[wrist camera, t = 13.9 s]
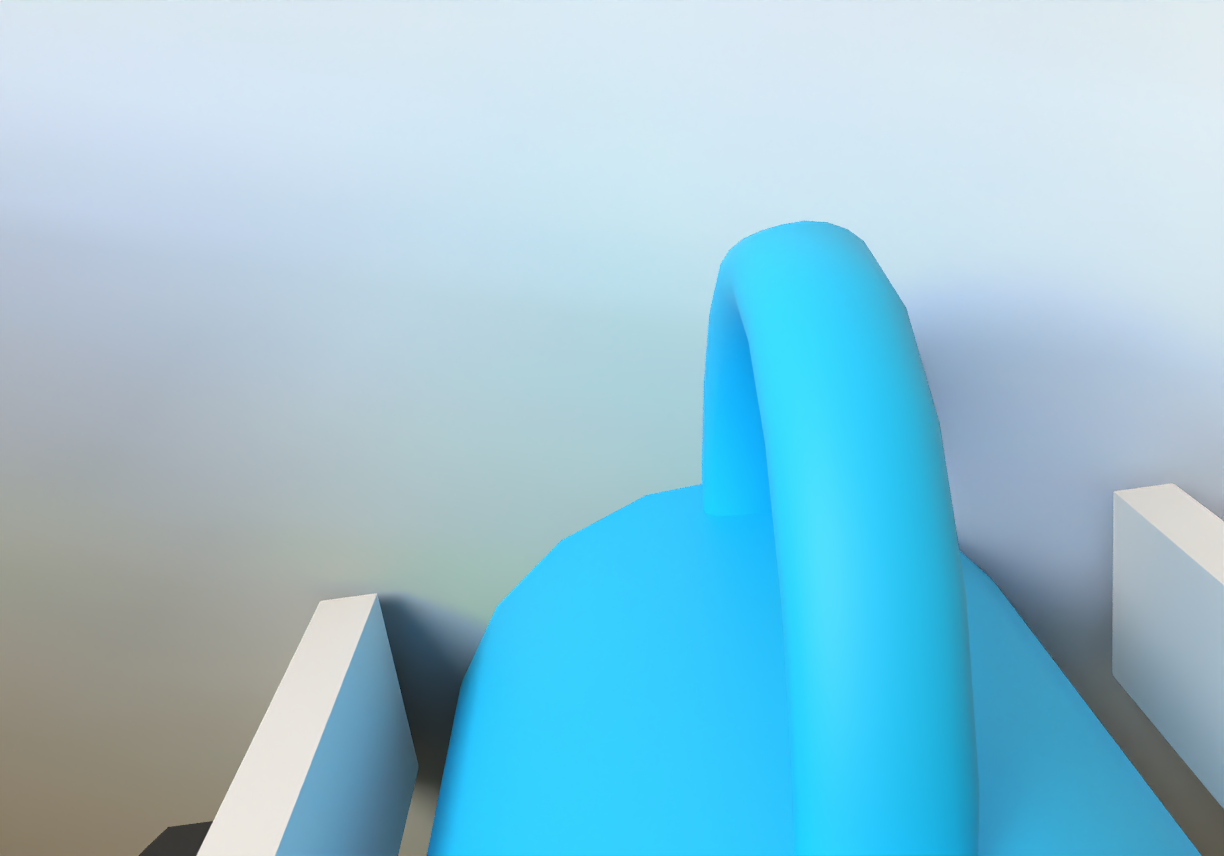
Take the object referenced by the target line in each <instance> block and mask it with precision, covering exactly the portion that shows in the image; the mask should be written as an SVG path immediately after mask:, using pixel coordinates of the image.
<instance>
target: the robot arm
mask: <svg viewBox="0 0 1224 856" xmlns="http://www.w3.org/2000/svg"><path fill="white" fill-rule="evenodd" d="M1112 675H1113V676H1114V677H1115V679H1116V680H1117V681H1118V682H1119V683H1120V685H1121V686H1122V687H1123V688H1124V689H1125V691H1126V692H1127V693H1128V694H1129V695H1130V697H1131V698H1132V699H1133V700H1134V701H1135V703H1136V704H1137V705H1138V706H1139V707H1140V709H1141V710H1142V711H1143V712H1144V714H1145V715H1146V716H1147V717H1148V718H1149V720H1150V721H1151V722H1152V723H1153V724H1154V726H1155V727H1156V728H1157V729H1158V730H1159V732H1160V733H1161V734H1162V735H1163V736H1164V738H1165V739H1166V740H1167V741H1168V742H1169V744H1170V745H1171V746H1172V747H1173V749H1174V750H1175V751H1176V752H1177V753H1178V755H1179V756H1180V757H1181V758H1182V759H1183V761H1184V762H1185V763H1186V764H1187V765H1188V767H1189V768H1190V769H1191V770H1192V771H1193V773H1194V774H1195V775H1196V776H1197V777H1198V779H1199V780H1200V781H1201V782H1202V784H1203V785H1204V786H1205V787H1206V788H1207V790H1208V791H1209V792H1210V793H1211V794H1212V796H1213V797H1214V798H1215V799H1216V800H1217V802H1218V803H1219V804H1220V805H1221V806H1222V808H1223V809H1224V521H1223V520H1221V519H1220V518H1219V517H1217V516H1216V515H1215V514H1213V513H1212V512H1211V511H1209V510H1208V509H1207V508H1205V507H1204V506H1203V505H1201V504H1200V503H1199V502H1197V501H1196V500H1195V499H1193V498H1192V497H1191V496H1189V495H1188V494H1187V493H1185V492H1184V491H1183V490H1181V489H1180V488H1179V487H1177V486H1176V485H1175V484H1173V483H1170V484H1163V485H1156V486H1148V487H1141V488H1134V489H1127V490H1119V491H1114V496H1113V634H1112ZM418 768H419V766H418V761H417V757H416V753H415V749H414V745H413V741H412V736H411V732H410V728H409V724H408V720H407V716H406V711H405V707H404V703H403V699H402V695H401V690H400V686H399V682H398V678H397V674H396V670H395V665H394V661H393V657H392V653H391V649H390V645H389V640H388V636H387V632H386V628H385V624H384V620H383V615H382V611H381V607H380V603H379V599H378V594H377V593H375V594H367V595H360V596H353V597H346V598H338V599H331V600H324V601H320V603H319V605H318V607H317V609H316V611H315V613H314V615H313V617H312V619H311V621H310V623H309V625H308V627H307V629H306V631H305V633H304V636H303V638H302V640H301V642H300V644H299V646H298V648H297V650H296V652H295V654H294V656H293V658H292V660H291V662H290V664H289V666H288V668H287V671H286V673H285V675H284V677H283V679H282V681H281V683H280V685H279V687H278V689H277V691H276V693H275V695H274V697H273V699H272V701H271V703H270V705H269V708H268V710H267V712H266V714H265V716H264V718H263V720H262V722H261V724H260V726H259V728H258V730H257V732H256V734H255V736H254V738H253V740H252V743H251V745H250V747H249V749H248V751H247V753H246V755H245V757H244V759H243V761H242V763H241V765H240V767H239V769H238V771H237V773H236V775H235V778H234V780H233V782H232V784H231V786H230V788H229V790H228V792H227V794H226V796H225V798H224V800H223V802H222V804H221V806H220V808H219V810H218V812H217V815H216V817H215V819H214V821H211V822H204V823H196V824H189V825H181V826H173V827H168V828H167V829H166V830H165V831H164V832H163V833H161V834H160V835H159V836H158V837H157V838H156V839H155V840H154V841H153V842H152V843H151V844H150V845H149V846H148V847H147V848H146V849H145V850H144V851H143V852H142V853H141V854H140V855H139V856H398V853H399V848H400V844H401V840H402V836H403V832H404V827H405V823H406V819H407V815H408V811H409V806H410V802H411V798H412V794H413V789H414V785H415V781H416V777H417V773H418Z"/></svg>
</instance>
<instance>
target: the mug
mask: <svg viewBox="0 0 1224 856" xmlns="http://www.w3.org/2000/svg"><path fill="white" fill-rule="evenodd" d="M427 856H1201V854H1200V853H1199V852H1198V850H1197V849H1196V848H1195V846H1194V845H1193V844H1192V843H1191V841H1190V840H1189V839H1188V837H1187V836H1186V835H1185V833H1184V832H1183V831H1182V829H1181V828H1180V827H1179V825H1178V824H1177V823H1176V821H1175V820H1174V819H1173V817H1172V816H1171V815H1170V813H1169V812H1168V811H1167V810H1166V808H1165V807H1164V806H1163V804H1162V803H1161V802H1160V800H1159V799H1158V798H1157V796H1156V795H1155V794H1154V792H1153V791H1152V790H1151V788H1150V787H1149V786H1148V784H1147V783H1146V782H1145V781H1144V779H1143V778H1142V777H1141V775H1140V774H1139V773H1138V771H1137V770H1136V769H1135V767H1134V766H1133V765H1132V763H1131V762H1130V761H1129V759H1128V758H1127V757H1126V755H1125V754H1124V753H1123V751H1122V750H1121V749H1120V748H1119V746H1118V745H1117V744H1116V742H1115V741H1114V740H1113V738H1112V737H1111V736H1110V734H1109V733H1108V732H1107V730H1106V729H1105V728H1104V726H1103V725H1102V724H1101V722H1100V721H1099V720H1098V718H1097V717H1096V716H1095V715H1094V713H1093V712H1092V711H1091V709H1090V708H1089V707H1088V705H1087V704H1086V703H1085V701H1084V700H1083V699H1082V697H1081V696H1080V695H1079V693H1078V692H1077V691H1076V689H1075V688H1074V687H1073V686H1072V684H1071V683H1070V682H1069V680H1068V679H1067V678H1066V676H1065V675H1064V674H1063V672H1062V671H1061V670H1060V668H1059V667H1058V666H1057V664H1056V663H1055V662H1054V660H1053V659H1052V658H1051V656H1050V655H1049V654H1048V653H1047V651H1046V650H1045V649H1044V647H1043V646H1042V645H1041V643H1040V642H1039V641H1038V639H1037V638H1036V637H1035V635H1034V634H1033V633H1032V631H1031V630H1030V629H1029V627H1028V626H1027V625H1026V623H1025V622H1024V621H1023V620H1022V618H1021V617H1020V616H1019V614H1018V613H1017V612H1016V610H1015V609H1014V608H1013V606H1012V605H1011V604H1010V602H1009V601H1008V600H1007V598H1006V597H1005V596H1004V594H1003V593H1002V592H1001V591H1000V589H999V588H998V587H997V585H996V584H995V583H994V581H993V580H992V579H991V578H990V577H989V576H987V575H986V574H985V573H984V572H983V571H982V570H981V569H980V568H979V567H978V566H976V565H975V564H974V563H973V562H972V561H971V560H970V559H969V558H968V557H967V556H965V555H964V554H963V553H962V552H961V551H960V550H959V545H958V539H957V532H956V526H955V519H954V513H953V507H952V500H951V494H950V487H949V481H948V475H947V468H946V462H945V455H944V449H943V443H942V436H941V430H940V424H939V420H938V417H937V413H936V410H935V406H934V403H933V399H932V396H931V392H930V389H929V385H928V382H927V378H926V375H925V371H924V368H923V364H922V361H921V358H920V354H919V351H918V347H917V344H916V340H915V337H914V333H913V330H912V326H911V323H910V319H909V316H908V312H907V309H906V307H905V305H904V304H903V302H902V300H901V299H900V297H899V296H898V294H897V293H896V291H895V289H894V288H893V286H892V285H891V283H890V281H889V280H888V278H887V277H886V275H885V273H884V272H883V270H882V269H881V267H880V266H879V264H878V262H877V261H876V259H875V258H874V256H873V254H872V253H871V251H870V250H869V248H868V247H867V245H866V244H865V242H864V241H863V240H861V239H860V238H859V237H857V236H856V235H855V234H853V233H852V232H850V231H849V230H848V229H845V228H842V227H839V226H836V225H833V224H830V223H827V222H814V221H800V222H794V223H788V224H783V225H779V226H775V227H772V228H768V229H765V230H762V231H759V232H757V233H755V234H753V235H750V236H748V237H746V238H744V239H742V240H741V241H740V242H739V243H737V244H736V245H735V246H734V247H733V248H731V249H730V250H729V252H728V253H727V255H726V256H725V258H724V260H723V261H722V263H721V265H720V269H719V273H718V278H717V282H716V287H715V291H714V295H713V300H712V304H711V310H710V316H709V326H708V338H707V351H706V364H705V376H704V403H703V445H702V484H700V485H695V486H690V487H685V488H680V489H675V490H670V491H665V492H660V493H655V494H650V495H646V496H644V497H642V498H640V499H638V500H636V501H635V502H633V503H631V504H629V505H627V506H625V507H623V508H621V509H620V510H618V511H616V512H614V513H612V514H610V515H608V516H606V517H605V518H603V519H601V520H599V521H597V522H595V523H593V524H591V525H590V526H588V527H586V528H584V529H582V530H580V531H578V532H576V533H575V534H573V535H571V536H569V537H567V538H565V539H563V540H561V541H560V542H559V543H558V544H557V545H556V546H555V547H554V548H553V549H552V550H551V551H550V552H549V553H548V554H547V555H546V556H545V558H544V559H543V560H542V561H541V562H540V563H539V564H538V565H537V566H536V567H535V568H534V569H533V570H532V571H531V572H530V573H529V574H528V575H527V576H526V577H525V578H524V579H523V580H522V581H521V582H520V583H519V584H518V585H517V586H516V587H515V588H514V589H513V590H512V591H511V592H510V593H509V594H508V596H507V597H506V598H505V599H504V600H503V601H502V602H501V603H500V604H499V605H498V606H497V608H496V610H495V612H494V614H493V616H492V618H491V620H490V623H489V625H488V627H487V629H486V631H485V633H484V635H483V638H482V640H481V642H480V644H479V646H478V648H477V650H476V653H475V655H474V657H473V659H472V661H471V663H470V665H469V668H468V670H467V672H466V674H465V676H464V678H463V680H462V683H461V688H460V693H459V698H458V703H457V708H456V713H455V718H454V723H453V728H452V733H451V738H450V743H449V748H448V753H447V758H446V763H445V768H444V773H443V778H442V783H441V788H440V793H439V798H438V803H437V808H436V813H435V818H434V823H433V828H432V833H431V838H430V843H429V848H428V853H427Z"/></svg>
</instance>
